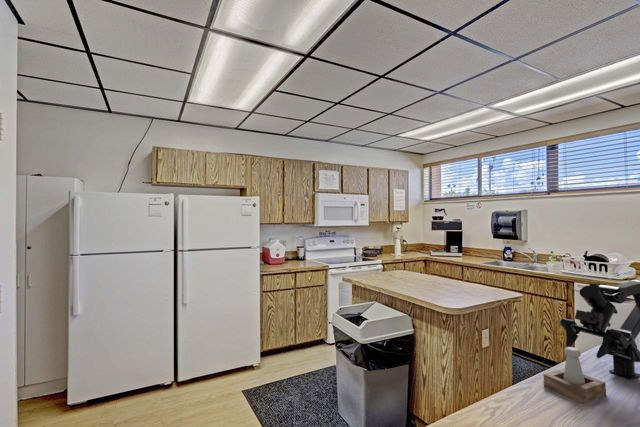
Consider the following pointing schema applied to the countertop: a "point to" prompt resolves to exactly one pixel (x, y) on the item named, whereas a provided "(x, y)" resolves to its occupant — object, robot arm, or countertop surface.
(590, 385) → the socket block
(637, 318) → the robot arm
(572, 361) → the salt shaker
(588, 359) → the countertop surface
